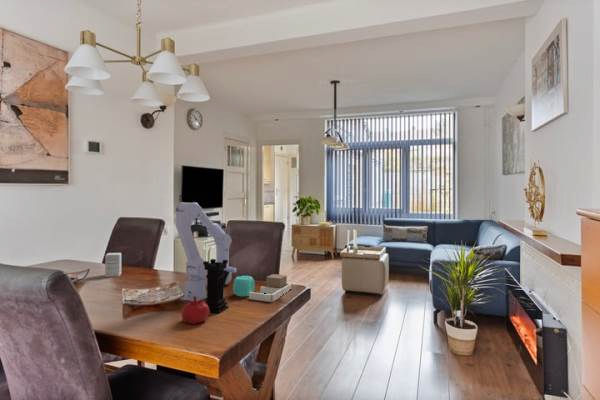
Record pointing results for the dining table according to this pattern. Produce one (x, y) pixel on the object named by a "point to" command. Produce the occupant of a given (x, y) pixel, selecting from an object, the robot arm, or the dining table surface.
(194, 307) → the pomegranate
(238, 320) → the dining table surface
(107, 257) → the supplement box
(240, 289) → the decorative dice
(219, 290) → the chess piece
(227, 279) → the teacup
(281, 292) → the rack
